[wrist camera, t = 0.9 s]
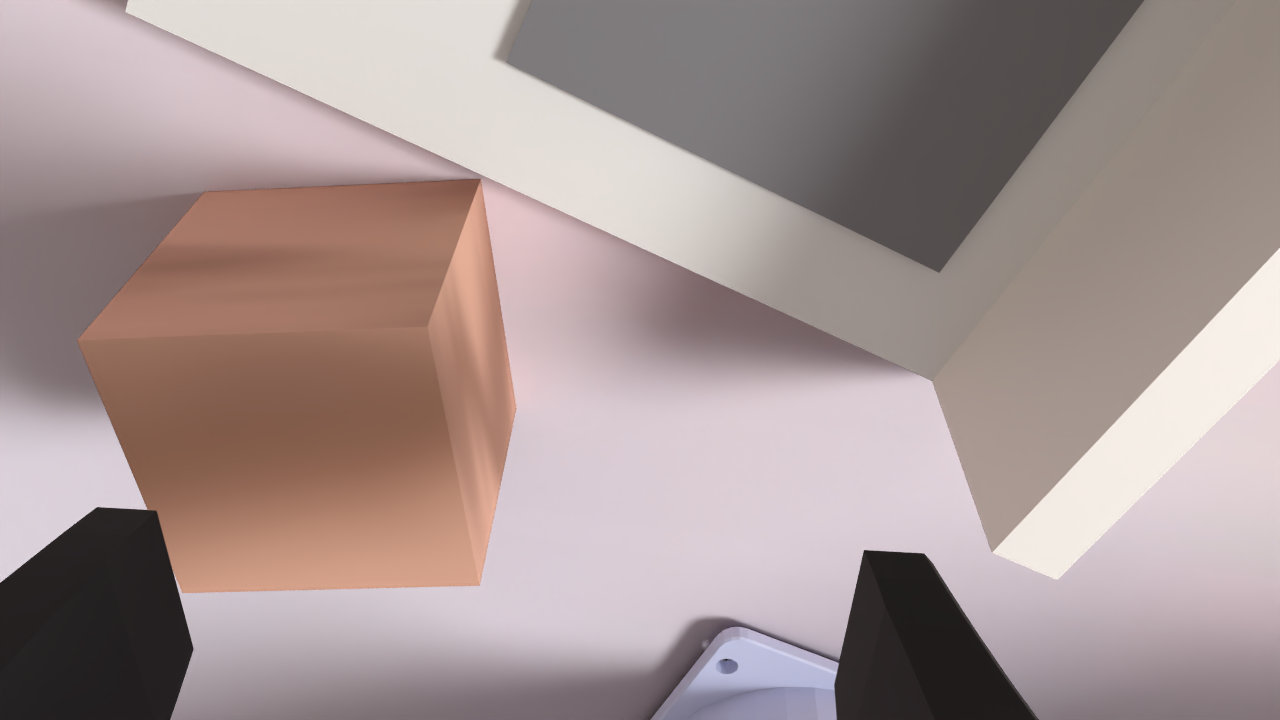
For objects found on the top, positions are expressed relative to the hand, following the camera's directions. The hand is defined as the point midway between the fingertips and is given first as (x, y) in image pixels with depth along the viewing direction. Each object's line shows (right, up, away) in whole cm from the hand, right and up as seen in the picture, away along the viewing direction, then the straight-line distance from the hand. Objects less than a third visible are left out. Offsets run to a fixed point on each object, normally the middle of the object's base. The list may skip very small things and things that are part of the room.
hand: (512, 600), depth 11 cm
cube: (-4, +4, +9) cm, 11 cm away
